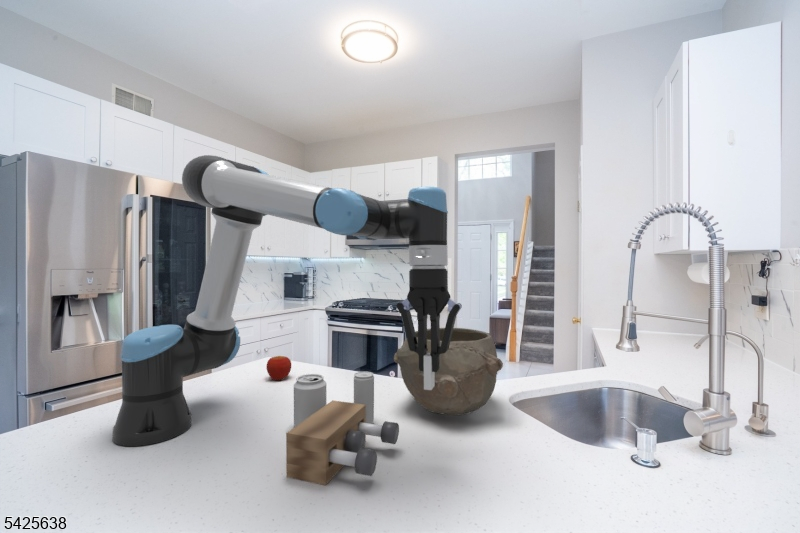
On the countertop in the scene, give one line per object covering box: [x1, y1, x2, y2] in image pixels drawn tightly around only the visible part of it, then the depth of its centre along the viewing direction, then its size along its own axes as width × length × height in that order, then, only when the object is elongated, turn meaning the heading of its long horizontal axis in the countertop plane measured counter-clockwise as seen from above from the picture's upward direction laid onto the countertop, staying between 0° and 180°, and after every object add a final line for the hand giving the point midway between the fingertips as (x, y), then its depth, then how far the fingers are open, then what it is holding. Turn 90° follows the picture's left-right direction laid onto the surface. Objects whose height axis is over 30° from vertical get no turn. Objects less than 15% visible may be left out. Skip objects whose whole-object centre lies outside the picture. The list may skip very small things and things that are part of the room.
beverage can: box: [353, 371, 375, 424], centre depth 91 cm, size 5×5×12 cm
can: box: [293, 373, 327, 428], centre depth 89 cm, size 8×8×12 cm
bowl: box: [393, 327, 504, 416], centre depth 101 cm, size 27×29×20 cm
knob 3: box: [358, 420, 400, 445], centre depth 79 cm, size 11×4×4 cm, turn 71°
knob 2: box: [329, 447, 378, 477], centre depth 68 cm, size 11×4×4 cm, turn 71°
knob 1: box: [344, 430, 366, 453], centre depth 75 cm, size 11×4×4 cm, turn 71°
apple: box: [266, 355, 292, 381], centre depth 126 cm, size 8×8×8 cm
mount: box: [285, 399, 367, 486], centre depth 75 cm, size 8×17×8 cm, turn 161°
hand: (429, 387), depth 75 cm, fingers closed
